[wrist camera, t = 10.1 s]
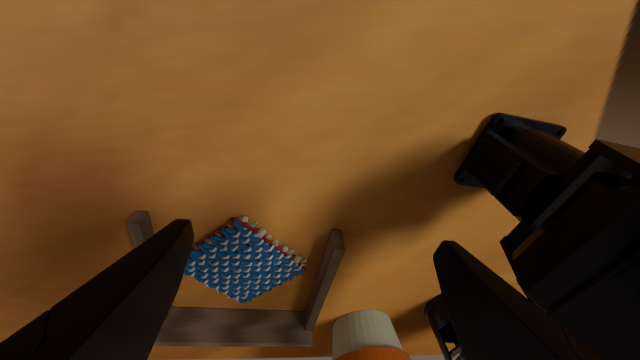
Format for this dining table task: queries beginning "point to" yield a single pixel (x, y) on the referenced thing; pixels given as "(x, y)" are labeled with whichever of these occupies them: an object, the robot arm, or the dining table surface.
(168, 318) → the box
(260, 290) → the woven mat
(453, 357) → the french press
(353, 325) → the reusable coffee cup
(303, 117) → the dining table surface
